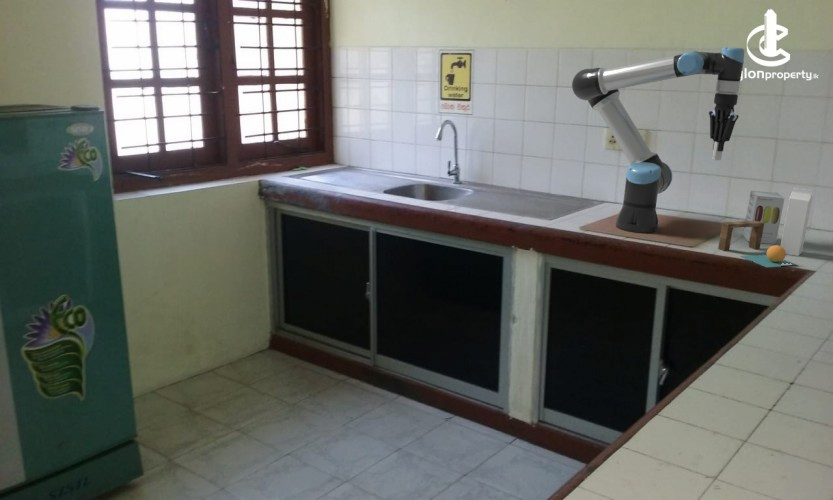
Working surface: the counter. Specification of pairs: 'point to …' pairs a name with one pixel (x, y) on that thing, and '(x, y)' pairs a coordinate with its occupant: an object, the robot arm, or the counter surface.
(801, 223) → the milk
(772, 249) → the ball
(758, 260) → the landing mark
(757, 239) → the bridge
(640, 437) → the counter surface
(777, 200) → the supplement box
